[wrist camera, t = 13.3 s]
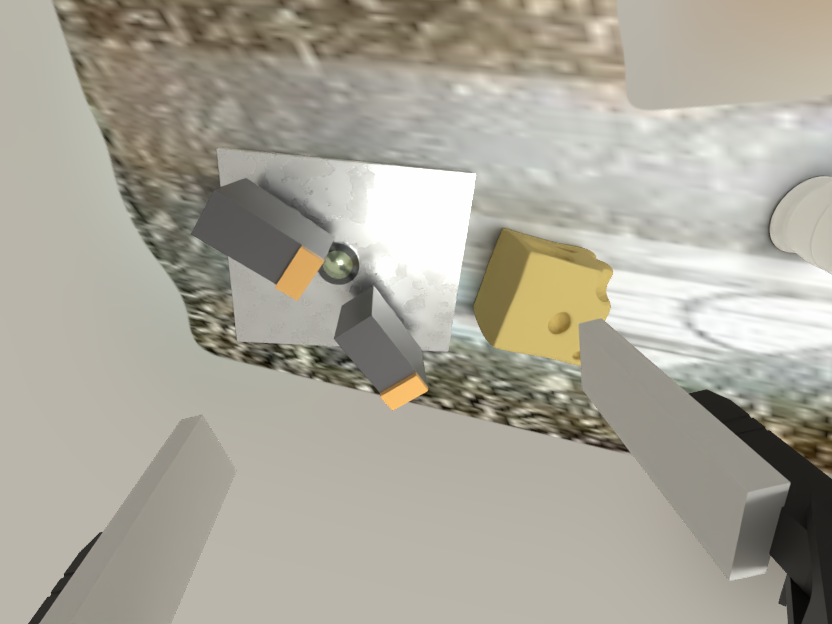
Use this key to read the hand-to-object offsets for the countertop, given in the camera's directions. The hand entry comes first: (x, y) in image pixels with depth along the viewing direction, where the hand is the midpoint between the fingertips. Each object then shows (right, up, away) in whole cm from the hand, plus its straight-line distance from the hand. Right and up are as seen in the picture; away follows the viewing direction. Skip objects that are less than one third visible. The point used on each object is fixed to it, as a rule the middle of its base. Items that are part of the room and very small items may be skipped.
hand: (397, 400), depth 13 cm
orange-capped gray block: (-3, +2, +30) cm, 30 cm away
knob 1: (-12, +12, +25) cm, 30 cm away
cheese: (+13, +7, +32) cm, 35 cm away
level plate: (-7, +9, +29) cm, 31 cm away
